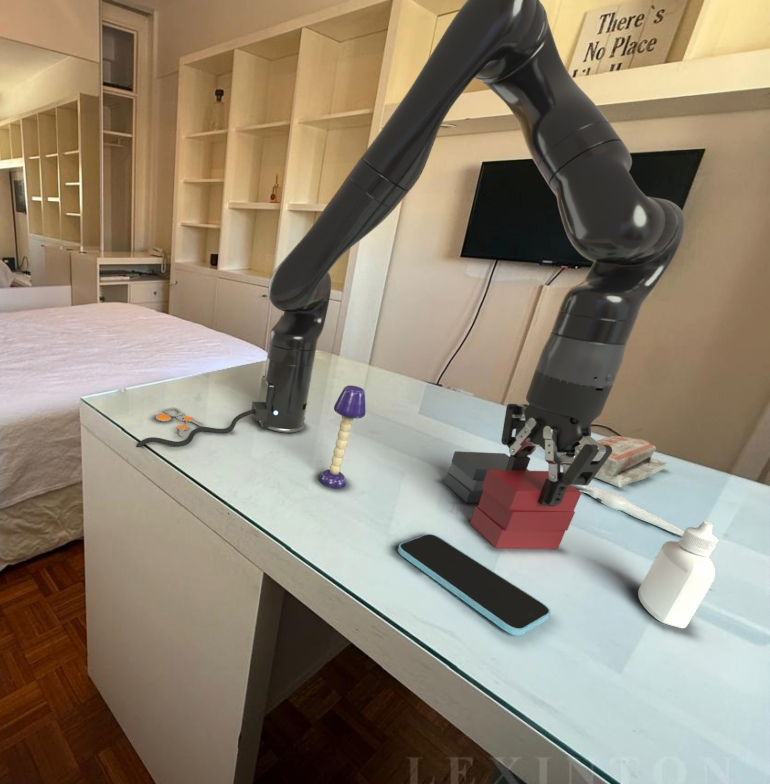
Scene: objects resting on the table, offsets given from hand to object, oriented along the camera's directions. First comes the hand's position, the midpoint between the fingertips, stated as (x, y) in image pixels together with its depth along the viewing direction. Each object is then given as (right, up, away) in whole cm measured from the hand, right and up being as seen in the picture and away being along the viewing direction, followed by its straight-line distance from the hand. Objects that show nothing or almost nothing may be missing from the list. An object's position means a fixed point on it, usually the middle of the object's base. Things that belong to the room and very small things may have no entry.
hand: (529, 491), depth 61 cm
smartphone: (-13, -10, -7) cm, 17 cm away
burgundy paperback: (0, -1, +1) cm, 1 cm away
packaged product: (+34, -1, +25) cm, 42 cm away
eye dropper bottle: (+8, -12, -9) cm, 17 cm away
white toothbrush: (+23, -6, +10) cm, 26 cm away
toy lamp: (-22, -2, +13) cm, 26 cm away
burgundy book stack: (0, -7, +3) cm, 7 cm away
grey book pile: (+2, -3, +13) cm, 14 cm away
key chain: (-48, +7, +32) cm, 58 cm away
